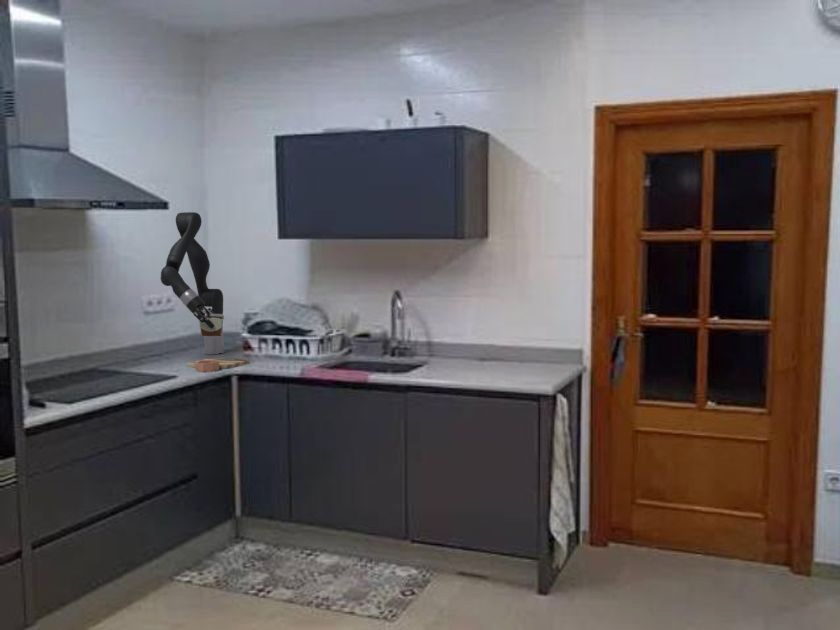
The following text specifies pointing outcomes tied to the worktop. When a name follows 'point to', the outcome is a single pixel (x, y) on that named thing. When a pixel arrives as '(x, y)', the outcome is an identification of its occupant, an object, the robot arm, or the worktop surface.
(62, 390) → the worktop surface
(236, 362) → the board
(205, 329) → the food container
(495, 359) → the worktop surface
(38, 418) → the worktop surface
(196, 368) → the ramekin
